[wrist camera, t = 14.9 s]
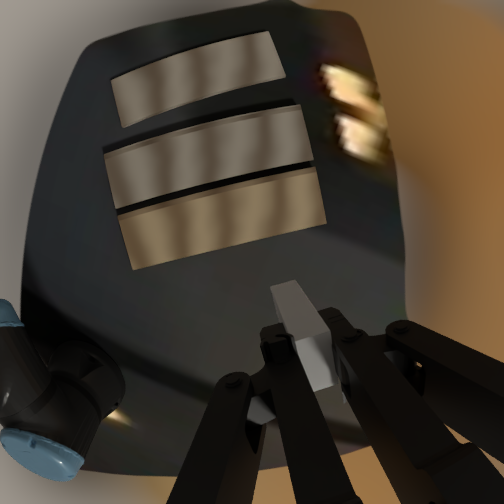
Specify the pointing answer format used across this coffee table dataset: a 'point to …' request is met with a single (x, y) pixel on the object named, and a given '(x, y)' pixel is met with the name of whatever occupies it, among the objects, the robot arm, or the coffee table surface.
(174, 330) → the coffee table surface
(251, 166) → the board
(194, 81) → the plank
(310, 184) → the laid board
